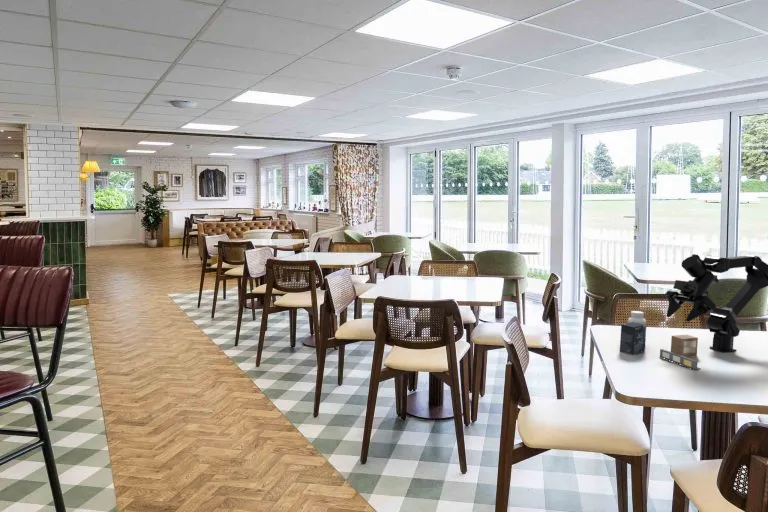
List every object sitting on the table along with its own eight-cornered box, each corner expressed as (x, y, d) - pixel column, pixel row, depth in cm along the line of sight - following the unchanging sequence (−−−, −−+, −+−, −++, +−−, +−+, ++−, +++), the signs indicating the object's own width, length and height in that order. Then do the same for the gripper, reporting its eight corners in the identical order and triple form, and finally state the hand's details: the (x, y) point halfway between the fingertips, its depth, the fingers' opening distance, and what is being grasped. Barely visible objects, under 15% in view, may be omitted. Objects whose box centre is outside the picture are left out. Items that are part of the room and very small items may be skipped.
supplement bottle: (644, 342, 227) (646, 311, 225) (646, 346, 221) (647, 314, 219) (626, 341, 229) (627, 309, 228) (627, 345, 223) (629, 313, 221)
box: (633, 354, 209) (634, 326, 208) (619, 351, 214) (620, 323, 213) (645, 351, 214) (646, 324, 212) (631, 348, 218) (633, 321, 217)
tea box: (685, 352, 213) (687, 334, 212) (696, 356, 208) (698, 337, 207) (670, 354, 211) (671, 335, 210) (681, 357, 206) (682, 339, 205)
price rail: (659, 357, 206) (659, 349, 206) (665, 356, 207) (665, 348, 207) (694, 370, 191) (694, 361, 191) (700, 369, 192) (700, 360, 191)
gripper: (667, 269, 216) (644, 301, 214) (708, 274, 198) (683, 309, 196) (685, 287, 219) (663, 319, 217) (726, 293, 201) (702, 328, 199)
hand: (677, 318), depth 208 cm, fingers open, 9 cm apart
